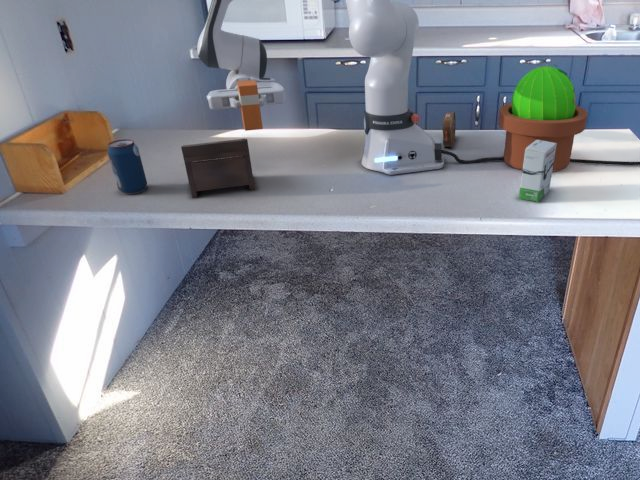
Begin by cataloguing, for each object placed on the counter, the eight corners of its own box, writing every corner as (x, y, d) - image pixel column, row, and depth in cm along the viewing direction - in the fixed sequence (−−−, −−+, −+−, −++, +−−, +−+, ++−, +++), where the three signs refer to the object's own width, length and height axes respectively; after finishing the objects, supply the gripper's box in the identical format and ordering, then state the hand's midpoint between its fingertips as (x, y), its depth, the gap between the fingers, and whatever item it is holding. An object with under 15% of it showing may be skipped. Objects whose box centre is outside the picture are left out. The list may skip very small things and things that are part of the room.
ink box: (538, 203, 124) (545, 152, 118) (517, 198, 127) (523, 148, 120) (550, 190, 131) (557, 141, 124) (530, 186, 133) (536, 138, 127)
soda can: (153, 185, 139) (142, 139, 132) (138, 196, 133) (125, 147, 127) (129, 184, 140) (116, 137, 134) (113, 194, 134) (98, 146, 128)
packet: (260, 122, 146) (254, 80, 141) (262, 129, 141) (257, 84, 136) (243, 124, 145) (236, 81, 139) (245, 130, 140) (238, 86, 135)
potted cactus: (490, 172, 142) (499, 70, 129) (499, 146, 160) (508, 55, 146) (578, 179, 136) (598, 74, 123) (578, 151, 154) (594, 57, 141)
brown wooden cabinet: (250, 176, 143) (243, 128, 136) (255, 189, 135) (247, 139, 128) (191, 183, 139) (181, 135, 133) (192, 198, 131) (181, 147, 125)
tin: (451, 151, 157) (452, 121, 152) (440, 150, 158) (441, 121, 153) (455, 135, 169) (457, 108, 165) (445, 135, 170) (446, 107, 166)
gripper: (203, 83, 147) (205, 95, 135) (279, 77, 152) (287, 88, 140) (208, 107, 150) (210, 120, 139) (282, 101, 155) (290, 112, 144)
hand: (250, 104), depth 139 cm, fingers closed on packet, 4 cm apart
